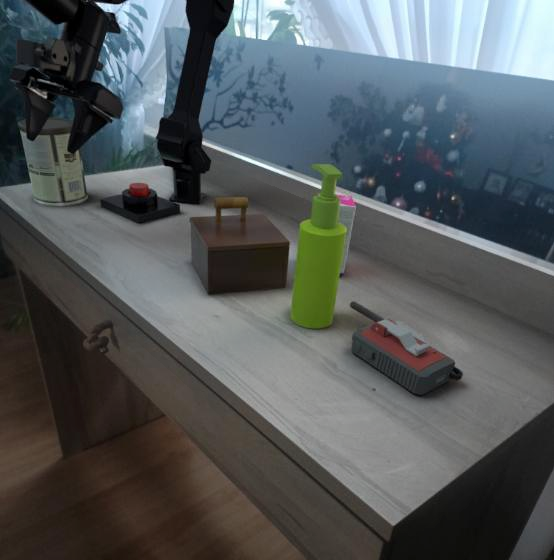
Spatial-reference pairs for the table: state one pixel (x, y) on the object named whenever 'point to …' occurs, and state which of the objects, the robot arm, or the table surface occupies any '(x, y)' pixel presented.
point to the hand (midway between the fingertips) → (49, 146)
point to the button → (139, 189)
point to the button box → (140, 206)
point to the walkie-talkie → (402, 353)
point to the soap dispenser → (319, 256)
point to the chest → (239, 267)
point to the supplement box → (346, 223)
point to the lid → (237, 228)
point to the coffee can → (54, 165)
